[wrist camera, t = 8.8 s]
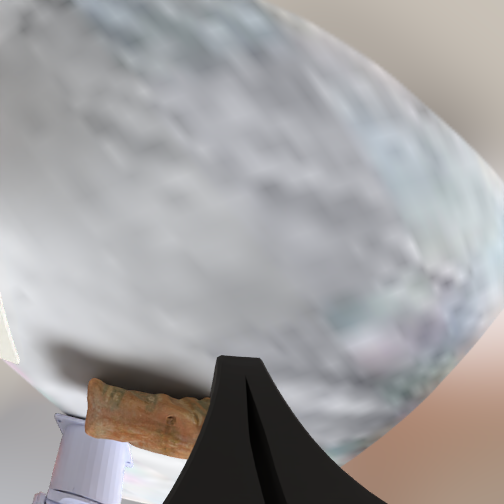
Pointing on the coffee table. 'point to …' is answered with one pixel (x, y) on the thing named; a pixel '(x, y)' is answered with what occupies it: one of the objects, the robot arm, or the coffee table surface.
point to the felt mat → (6, 339)
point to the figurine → (145, 419)
